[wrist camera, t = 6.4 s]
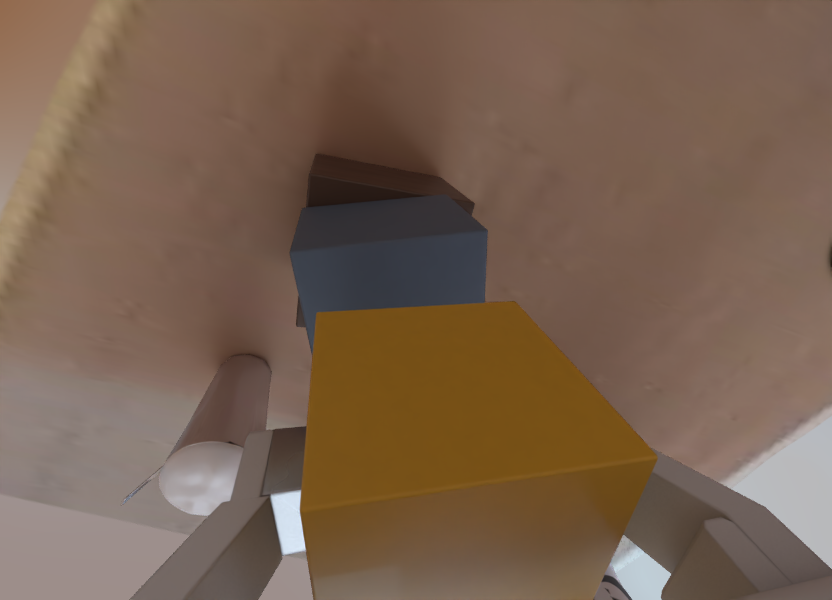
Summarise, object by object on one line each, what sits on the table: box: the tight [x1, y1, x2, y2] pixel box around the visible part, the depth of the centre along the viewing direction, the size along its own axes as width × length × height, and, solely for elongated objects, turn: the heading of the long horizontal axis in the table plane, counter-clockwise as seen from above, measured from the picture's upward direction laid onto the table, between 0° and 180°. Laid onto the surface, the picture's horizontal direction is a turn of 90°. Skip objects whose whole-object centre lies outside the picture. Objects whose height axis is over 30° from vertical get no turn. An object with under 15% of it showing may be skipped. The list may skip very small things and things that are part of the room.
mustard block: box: [300, 301, 658, 600], centre depth 8 cm, size 5×5×5 cm
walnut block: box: [296, 154, 475, 327], centre depth 20 cm, size 7×7×6 cm
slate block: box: [290, 194, 488, 356], centre depth 15 cm, size 6×6×5 cm
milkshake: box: [121, 354, 272, 516], centre depth 21 cm, size 5×5×10 cm
